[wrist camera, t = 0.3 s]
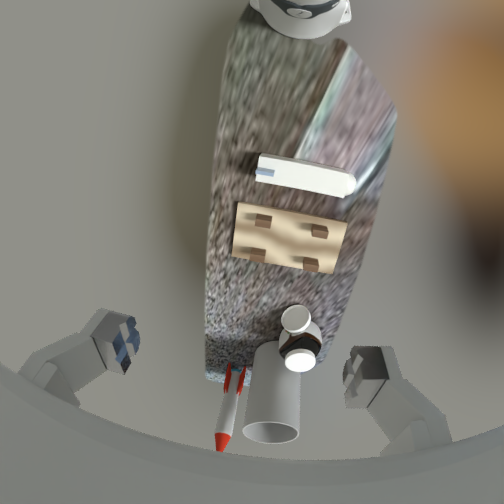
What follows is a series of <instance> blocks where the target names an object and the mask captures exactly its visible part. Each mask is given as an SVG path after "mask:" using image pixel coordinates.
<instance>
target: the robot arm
mask: <svg viewBox="0 0 504 504" xmlns="http://www.w3.org/2000/svg"><path fill="white" fill-rule="evenodd" d="M250 5H251V7H252V8H254V9H255V10H257V11H258V12H260V13H261V14H262V15H263V17H264V18H265V20H266V21H267V23H268V24H269V25H270V26H271V27H272V28H273V29H275V30H276V31H278V32H279V33H281V34H283V35H286V36H289V37H292V38H297V39H313V38H317V37H321V36H323V35H325V34H327V33H329V32H330V31H331V30H332V29H334V28H335V27H336V26H338V25H342V24H346V23H348V22H350V21H351V10H350V4H349V0H250ZM345 12H346V13H345ZM135 325H136V320H135V317H133V316H130V315H126V314H122V313H118V312H114V311H110V310H107V309H103V308H101V309H98V310H97V311H96V313H95V314H94V315H93V316H92V318H91V319H90V320H89V322H88V323H87V324H86V325H85V327H84V328H83V329H82V330H81V332H80V333H74V334H72V335H70V336H68V337H66V338H64V339H61V340H59V341H57V342H55V343H53V344H51V345H48V346H46V347H44V348H42V349H40V350H38V351H36V352H33V353H32V354H31V356H30V357H29V358H28V360H27V361H26V362H25V363H24V365H23V366H22V367H21V369H20V370H19V371H18V373H16V372H14V371H12V370H11V369H10V368H8V367H7V366H5V365H4V364H3V363H1V362H0V504H504V425H502V426H500V427H498V428H495V429H492V430H490V431H487V432H484V433H481V434H478V435H475V436H473V437H470V438H466V439H463V440H460V441H456V442H452V438H451V434H450V431H449V427H448V424H447V421H446V417H445V415H444V414H443V413H442V412H441V411H440V410H439V409H438V408H437V407H436V406H435V405H434V404H433V403H432V402H430V401H429V400H428V399H427V398H426V397H425V396H424V395H423V394H422V393H421V392H420V391H419V390H418V389H416V388H415V387H414V386H413V385H412V384H411V383H410V382H409V381H408V380H407V379H403V378H402V374H401V371H400V368H399V365H398V362H397V358H396V355H395V353H394V349H393V348H392V347H391V346H379V347H378V346H354V347H353V348H352V349H351V352H350V356H351V358H350V359H348V360H347V361H346V363H345V366H344V369H343V384H344V385H345V387H346V388H347V390H346V392H345V394H344V395H345V403H346V408H367V410H368V412H369V413H370V414H371V416H372V417H373V418H374V419H375V421H376V422H377V424H378V425H379V426H380V428H381V429H382V430H383V432H384V433H385V434H386V436H387V437H388V438H389V440H390V441H391V443H390V444H389V445H387V446H386V447H385V448H384V449H383V450H382V451H381V452H380V457H371V458H360V459H345V460H290V459H274V458H262V457H253V456H245V455H238V454H230V453H224V452H219V451H213V450H208V449H203V448H198V447H193V446H189V445H185V444H181V443H177V442H173V441H169V440H166V439H162V438H158V437H155V436H152V435H148V434H145V433H142V432H139V431H136V430H133V429H130V428H128V427H125V426H122V425H119V424H117V423H114V422H111V421H109V420H106V419H104V418H101V417H99V416H96V415H94V414H92V413H90V412H87V411H85V410H83V409H81V408H79V406H80V402H79V400H78V398H77V397H76V396H75V394H74V393H75V392H76V391H78V390H79V389H81V388H82V387H84V386H85V385H86V384H88V383H89V382H91V381H92V380H94V379H95V378H97V377H98V376H100V375H101V374H102V373H104V372H105V371H106V369H107V370H110V371H113V372H116V373H120V374H123V375H125V373H126V371H127V370H128V368H129V366H130V364H131V360H130V357H132V356H134V355H136V353H137V351H138V349H139V345H140V335H139V332H138V331H137V330H136V329H135V328H134V327H135Z"/></svg>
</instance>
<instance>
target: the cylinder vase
mask: <svg viewBox="0 0 504 504" xmlns="http://www.w3.org/2000/svg"><path fill="white" fill-rule="evenodd" d="M299 420H300V372H295V371H291V370H289V369H288V368H287V367H286V365H285V360H284V359H283V358H282V357H281V356H280V354H279V341H270V342H266V343H264V344H262V345H261V346H259V347H258V348H257V350H256V352H255V356H254V363H253V369H252V375H251V382H250V388H249V394H248V400H247V407H246V413H245V419H244V425H243V433H244V435H245V436H246V437H248V438H249V439H252V440H254V441H257V442H262V443H270V444H278V443H285V442H290V441H292V440H294V439H296V438H297V437H298V436H299Z"/></svg>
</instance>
